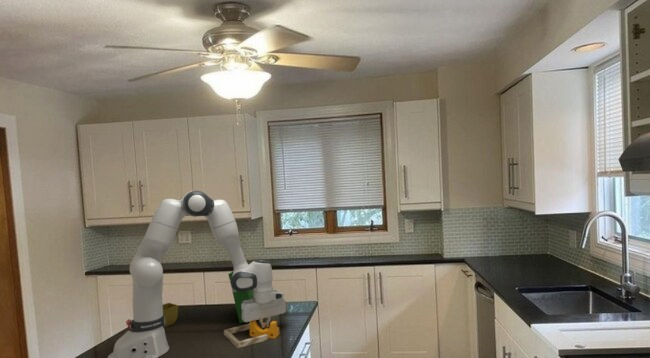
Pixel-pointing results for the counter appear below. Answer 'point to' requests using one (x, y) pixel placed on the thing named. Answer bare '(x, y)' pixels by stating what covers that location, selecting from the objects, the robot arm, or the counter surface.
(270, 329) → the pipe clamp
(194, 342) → the counter surface
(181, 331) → the counter surface
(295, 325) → the counter surface
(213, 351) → the counter surface
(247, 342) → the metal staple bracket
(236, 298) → the hardback book
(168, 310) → the flower pot
